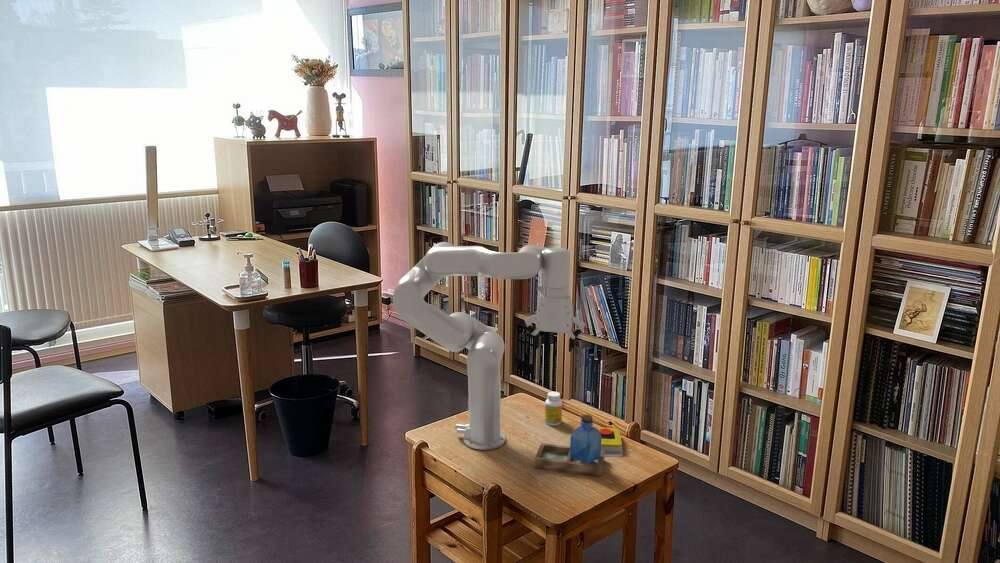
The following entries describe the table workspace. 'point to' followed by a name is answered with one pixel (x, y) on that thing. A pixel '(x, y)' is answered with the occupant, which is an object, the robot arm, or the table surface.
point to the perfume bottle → (585, 441)
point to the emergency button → (611, 441)
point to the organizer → (565, 461)
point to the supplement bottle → (553, 409)
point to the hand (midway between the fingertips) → (553, 349)
